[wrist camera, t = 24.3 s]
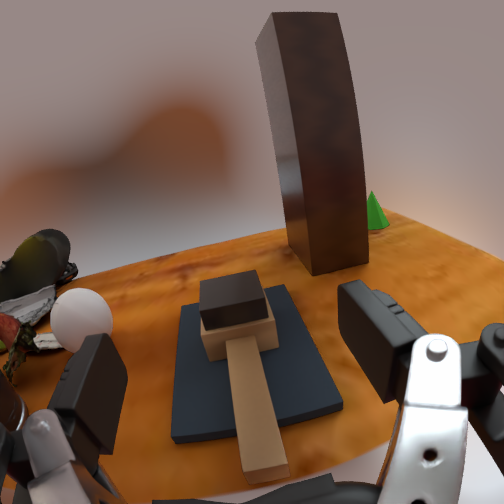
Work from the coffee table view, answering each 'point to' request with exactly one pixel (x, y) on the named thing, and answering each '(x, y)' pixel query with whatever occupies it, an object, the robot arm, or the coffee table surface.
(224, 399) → the mat
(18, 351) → the mushroom
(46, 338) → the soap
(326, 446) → the coffee table surface
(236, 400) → the brush
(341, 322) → the robot arm
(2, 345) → the kitchen knife
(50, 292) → the stone
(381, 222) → the gemstone
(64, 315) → the white egg
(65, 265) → the athletic shoe
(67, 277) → the toy car
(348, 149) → the tall dark wooden block
